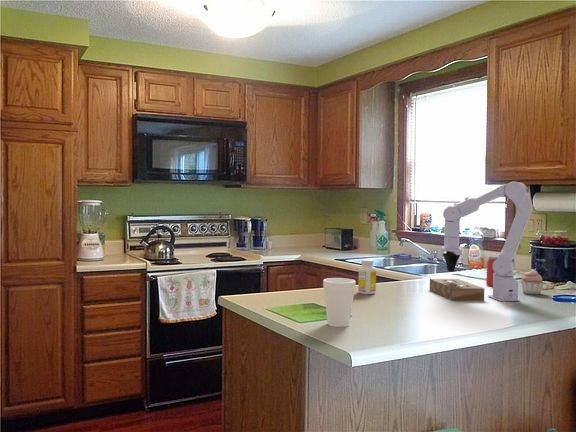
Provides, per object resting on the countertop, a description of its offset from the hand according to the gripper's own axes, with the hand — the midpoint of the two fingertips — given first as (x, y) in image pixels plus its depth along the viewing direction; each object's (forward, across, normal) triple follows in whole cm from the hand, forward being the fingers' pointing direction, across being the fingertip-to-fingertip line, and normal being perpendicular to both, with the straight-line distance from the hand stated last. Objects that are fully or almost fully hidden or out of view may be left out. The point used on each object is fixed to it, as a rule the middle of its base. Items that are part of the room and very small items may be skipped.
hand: (450, 271), depth 221 cm
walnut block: (+8, +5, 0) cm, 10 cm away
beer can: (+9, -15, +27) cm, 32 cm away
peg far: (+8, 0, 0) cm, 8 cm away
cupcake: (+9, +3, +33) cm, 34 cm away
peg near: (+8, +10, 0) cm, 13 cm away
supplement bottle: (+9, 0, -34) cm, 35 cm away
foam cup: (+9, +49, -57) cm, 76 cm away
